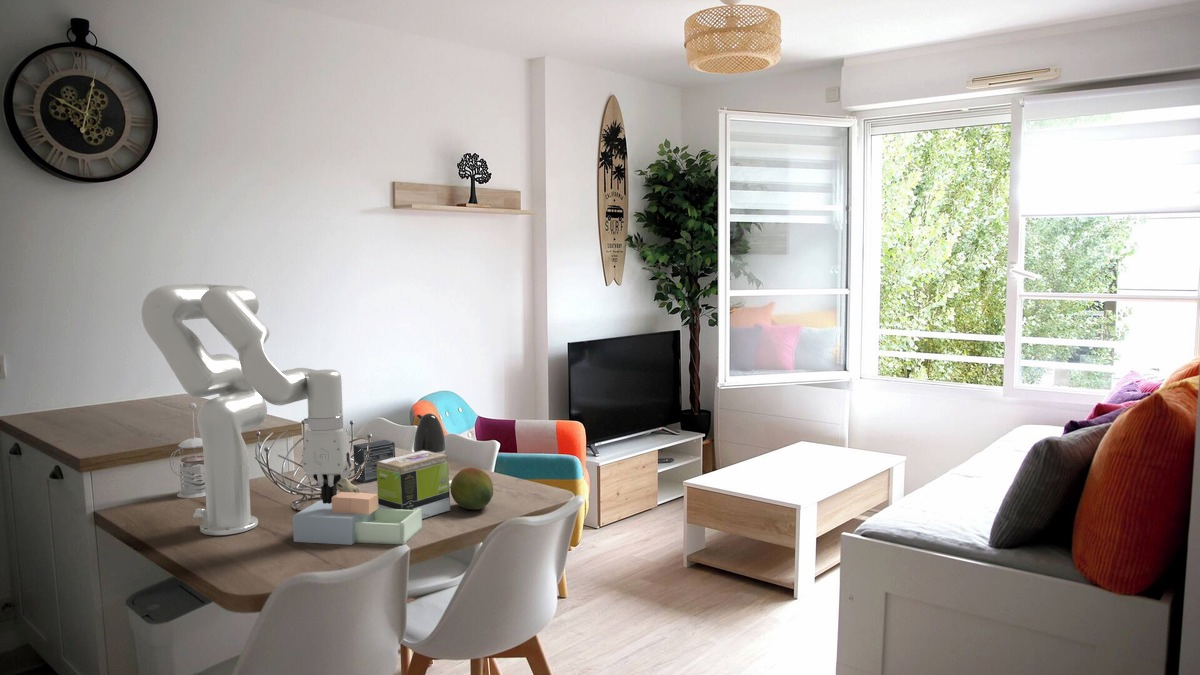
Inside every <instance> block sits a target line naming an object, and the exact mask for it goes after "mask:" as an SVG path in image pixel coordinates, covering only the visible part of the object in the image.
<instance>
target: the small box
mask: <svg viewBox="0 0 1200 675" xmlns="http://www.w3.org/2000/svg"><path fill="white" fill-rule="evenodd" d="M369 442H370V447H369V457H368V460H367V463H366V465H365V467H364V469H363V471H362V473H361V475H360V477H359V478H358V479H357V480H356V481H358V482H360V483H363V484H367V483H372V482H377V461H381V460H385V459H389V458H393V457H396V449H395V448H396V446H395V445H396V443H395V441H391V440H388V439H380V440H376V441H374V440H373V441H369ZM367 444H368V442H364V443H357V444H353V445H352V448H353V470H354V471H353V472H354V473H353V474H354V475H355V474H356V473H357V471H358V469H359V465H361V464H362V463H363V462H364V460H365V458H366V455H367ZM360 449H363V450H361V451H359V450H360ZM358 451H359V452H358ZM355 462H356V463H358V465H356V464H355Z"/></svg>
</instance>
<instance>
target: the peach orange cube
mask: <svg viewBox="0 0 1200 675" xmlns="http://www.w3.org/2000/svg"><path fill="white" fill-rule="evenodd" d="M378 508H379V506H378V493H368V492H361V493H358V494H356V495H355V496H353V497H351V498H350V513H356V514H367V515H369V514H371V513H372V512H374V511H375V510H377V509H378Z"/></svg>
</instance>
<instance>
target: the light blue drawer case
mask: <svg viewBox="0 0 1200 675" xmlns="http://www.w3.org/2000/svg"><path fill="white" fill-rule="evenodd" d="M374 519H375V515H374V512H372V513H371V514H369V515H367V514H356V513H337V512H332V503H330V504H328V503H326V504H324V503H323V500H318V501H316V502H314V503H313V504H311V505H309V506H307V507H305V508H304V509H302V510H300V511H298V512H296V513H295V514H294V515H292V528H293V529H292V530H293V531H292V532H293V535H292V537H293V542H294V543H313V544H316V543H317V544H326V545H327V544H330V545H331V544H332V545H347V546H351V545H354V544H355V543H356V542H355V522H371V521H372V520H374Z"/></svg>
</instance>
